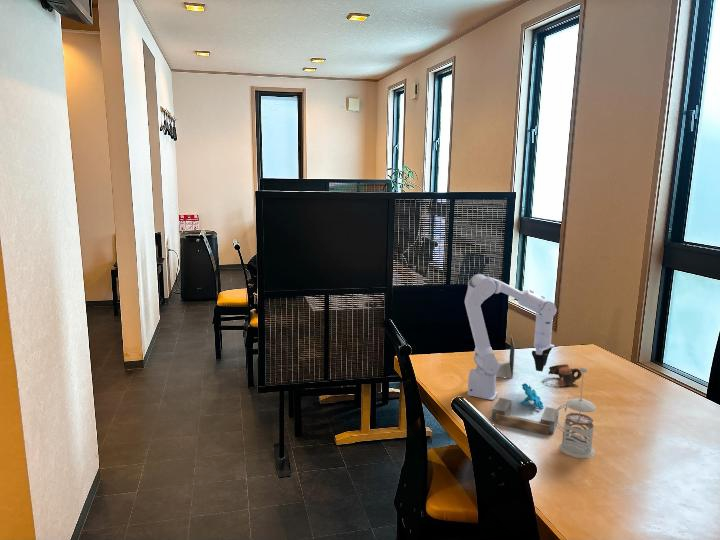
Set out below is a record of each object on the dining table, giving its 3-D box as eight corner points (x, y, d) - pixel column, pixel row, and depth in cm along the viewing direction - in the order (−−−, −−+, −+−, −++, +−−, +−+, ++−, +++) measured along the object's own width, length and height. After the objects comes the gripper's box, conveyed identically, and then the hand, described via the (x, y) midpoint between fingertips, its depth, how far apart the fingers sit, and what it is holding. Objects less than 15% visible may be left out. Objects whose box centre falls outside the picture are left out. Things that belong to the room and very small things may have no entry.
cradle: (490, 422, 168) (491, 410, 168) (499, 408, 178) (499, 397, 178) (552, 436, 159) (553, 423, 159) (558, 421, 170) (558, 409, 169)
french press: (592, 461, 145) (600, 376, 141) (549, 450, 151) (555, 368, 147) (597, 446, 153) (605, 365, 149) (556, 436, 159) (562, 358, 155)
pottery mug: (551, 387, 199) (546, 366, 201) (551, 389, 207) (546, 369, 210) (585, 383, 195) (579, 361, 198) (583, 385, 204) (578, 364, 207)
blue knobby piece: (543, 409, 174) (523, 385, 177) (529, 419, 176) (509, 395, 179) (546, 401, 184) (527, 378, 187) (533, 411, 186) (514, 388, 189)
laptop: (480, 361, 226) (481, 332, 224) (510, 364, 223) (512, 334, 221) (480, 376, 209) (482, 345, 206) (513, 379, 206) (515, 347, 204)
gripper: (551, 339, 181) (549, 376, 183) (557, 328, 193) (555, 363, 195) (530, 336, 184) (528, 372, 186) (538, 326, 196) (535, 360, 199)
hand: (540, 368), depth 191 cm, fingers open, 6 cm apart
